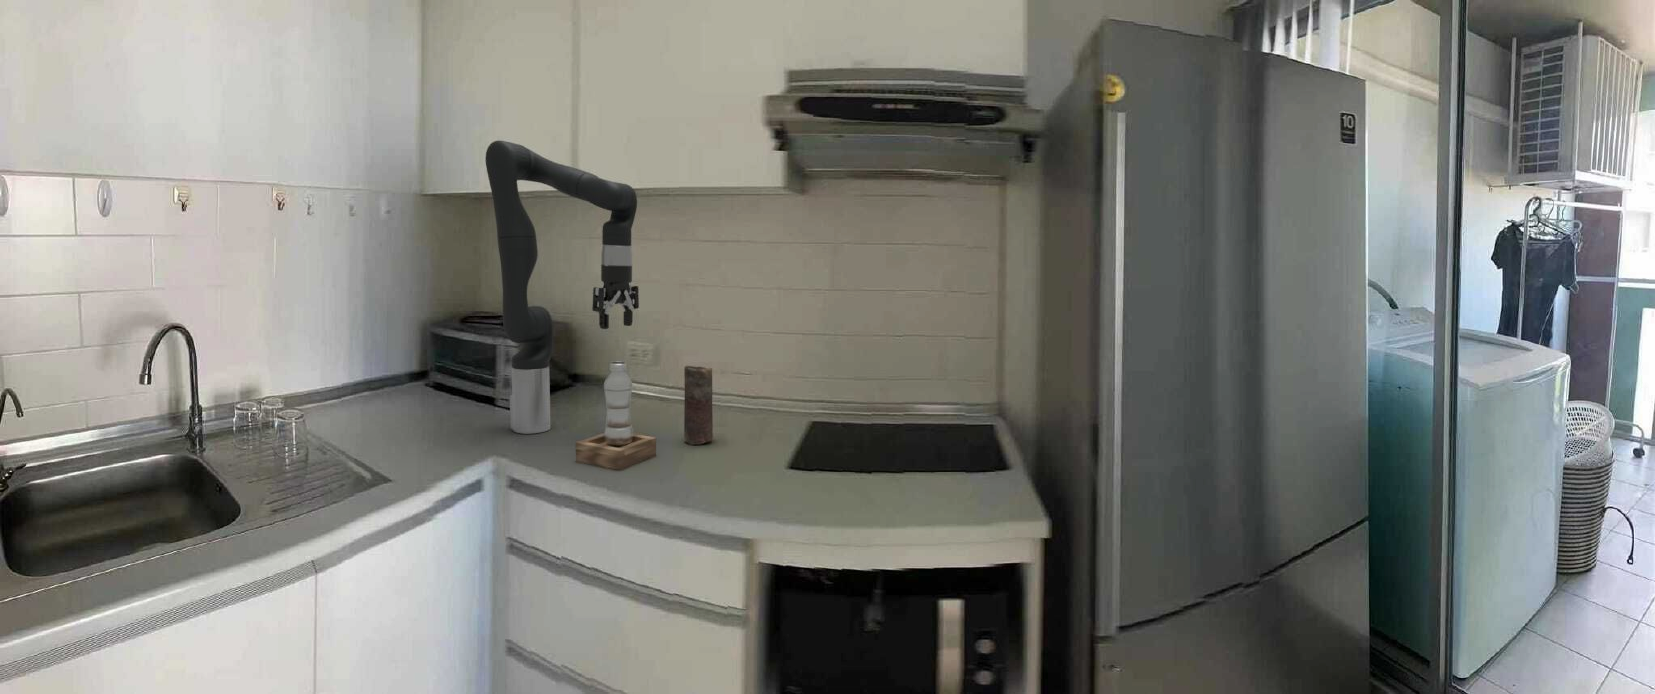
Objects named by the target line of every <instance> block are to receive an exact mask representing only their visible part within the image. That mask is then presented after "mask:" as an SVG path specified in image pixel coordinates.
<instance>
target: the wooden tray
mask: <svg viewBox="0 0 1655 694" xmlns="http://www.w3.org/2000/svg"><path fill="white" fill-rule="evenodd" d="M656 456H657V437H654V436H647V435H644V434H638V433H633V440H632V441H631V443H630V444H628V445H624V446H611V445H608V444H607V442H606V441H605V437H604V433H601V434H598V435H594V436H591V437H588V438H585V439H583V440H579V441H575V462H579V463H581V464H587V465H591V466H592V465H593V466H596V467H602V468H607V469H613V470H617V471H621V470H624V469H627V468H628V467H631V466H634V465H636V464H639V463H641V462H643V461H647V460H649V459H652V458H653V457H656Z"/></svg>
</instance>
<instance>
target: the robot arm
mask: <svg viewBox="0 0 1655 694" xmlns="http://www.w3.org/2000/svg"><path fill="white" fill-rule="evenodd" d="M485 168H486V172H487V176H488V181H489V186H490V190H491V195H492V200H493V201H492V203H493V210H494V216H495V217H494V218H495V223H496V233H497V246H498V247H497V248H498V254H499V255H498V256H499V260H500V261H499V262H500V269H501V282H502V283H501V284H502V324H503V330H504V333H505V335H506V337H507V338H508V340H509V341H511V342H512V343H515V344H522V343H523V345H522V346H521V347H522V348H521V349H520V350H519V351H518V352H517V353H515V354H514V355H513V356H512V357H511V362H510V363H511V384H512V385H511V386H512V387H511V389H512V391H511V392H512V393H511V394H510V395H509V410H510V411H509V412H510V413H509V414H510V416H509V418H510V430H512V431H513V432H514V433H516V434H517V433H518V434H524V435H525V434H526V435H529V434H539V433H545V432H548V431H550V429H551V393H550V390H551V389H550V385H551V384H550V360H551V358H552V355H553V335H554V334H553V333H554V325H553V318H552V316H551V314H550V312H549V310H548V309H547V308H545V307H543V306H540V305H539V306H538V305H532V306H529V303H528V287H529V281H530V279H531V277H532V274H533V272H534V270H535V267H536V264H537V261H538V257H539V256H538V255H539V252H538V250H539V249H538V243H537V242H538V241H537V234H536V232H537V231H536V230H535V226H534V224H533V222H532V220H531V218H530V216H529V215H528V212H527V211H526V209H525V206H524V205H523V202H522V200H521V197H520V194H519V193H520V192H519V188H518V181H524V182H525V181H527V182H534V183H539V184H543V185H546V186H549V187H550V188H553V189H555V190H556V191H559V192H560V193H562V194H564V195H567V196H570V197H573V198H576V199H579V200H582V201H585V202H588V203H590V204H592V205H594V206H596V207H598V208H601V209H603V210H606V211H611V212H610V216H609V217H610V218H609V220H608V221H605V222H603V225H602V230H601V231H602V235H601V239H602V240H601V241H602V242H601V243H602V245H601V251H600V252H601V253H600V280H601V282H602V283H603V287H600V286H598V287H597V286H594V287H593V290H592V309H591V310H592V311H593V312H596V313H598V315H599V316H598V317H599V319H598V326H599V329H603V330H608V329H609V328H610V325H609V324H610V318H609V317H610V314H609V312H610V310H611V308H613V307H614V306H615V305H621V307H622V309H623V310H624V311H623V326H624V327H625V326H626V327H631V326H632V325H633V318H634V315H633V312H634V311H635V310H636V309H637V310H638V309H639V308H640V306H639V305H640V301H639V296H640V295H639V286H638V285H631V284H630V283H632V282H633V249H632V228H633V225H634V223H635V222H634V221H635V217H636V213H637V207H638V199H637V197H638V196H637V193H636V191H635V189H634V188H633V186H631V185H629V184H626V183H622V182H616V181H611V180H608V179H603V178H601V177H599V176H598V175H595V174H593V173H590V172H588V171H585V170H582V169H580V168H576V167H573V166H569V165H565V164H562V163H561V164H560V163H558V162H555V161H553V160H550V159H548V158H546V157H544V156H542V155H540V154H538V153H537V152H536V151H535V152H534V151H533V150H531V149H529V148H528V147H526V146H524V145H521V144H519V143H514V142H510V141H506V140H495V141H493V142H491V143H490V144H489V145H488V147H487V149H486V152H485Z"/></svg>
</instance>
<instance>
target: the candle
mask: <svg viewBox="0 0 1655 694" xmlns="http://www.w3.org/2000/svg"><path fill="white" fill-rule="evenodd" d="M683 415H684V420H683V423H684V424H683V425H684V427H683V428H684V429H683V432H684V433H683V435H684V437H683V438H684V441H685V442H686V443H687V444H688V445H691V446H695V445H702V444H704V443H709V442H711V441H712V440H713V437H714V434H713V433H714V432H713V431H714V430H713V428H714V427H713V426H714V424H713V419H714V418H713V416H714V415H713V368H711V367H708V368H707V367H705V366H704V367H703V366H693V365H692V366H691V365H685V366H684V414H683Z"/></svg>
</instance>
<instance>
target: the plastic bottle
mask: <svg viewBox="0 0 1655 694" xmlns="http://www.w3.org/2000/svg"><path fill="white" fill-rule="evenodd" d="M627 370H628V369H627V362H626V361H611V362H610V364H609V371H610V373H609V374H608V375H607V376H606V378H605V380H604V383H603V390H604V392H603V393H604V396H605V404H606V405H605V407H606V418H605V419H606V420H605V428H604V433H603V434H604V437H605V441H606V442H607V444H608V445H611V446H624V445H628V444H630V443H631V441H632V440H633V434H634V429H633V426H632V418H631V417H632V416H631V399H632V393H633V382H632V379H631V378H630V377H629V375H628V374H627V373H626V371H627Z"/></svg>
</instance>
